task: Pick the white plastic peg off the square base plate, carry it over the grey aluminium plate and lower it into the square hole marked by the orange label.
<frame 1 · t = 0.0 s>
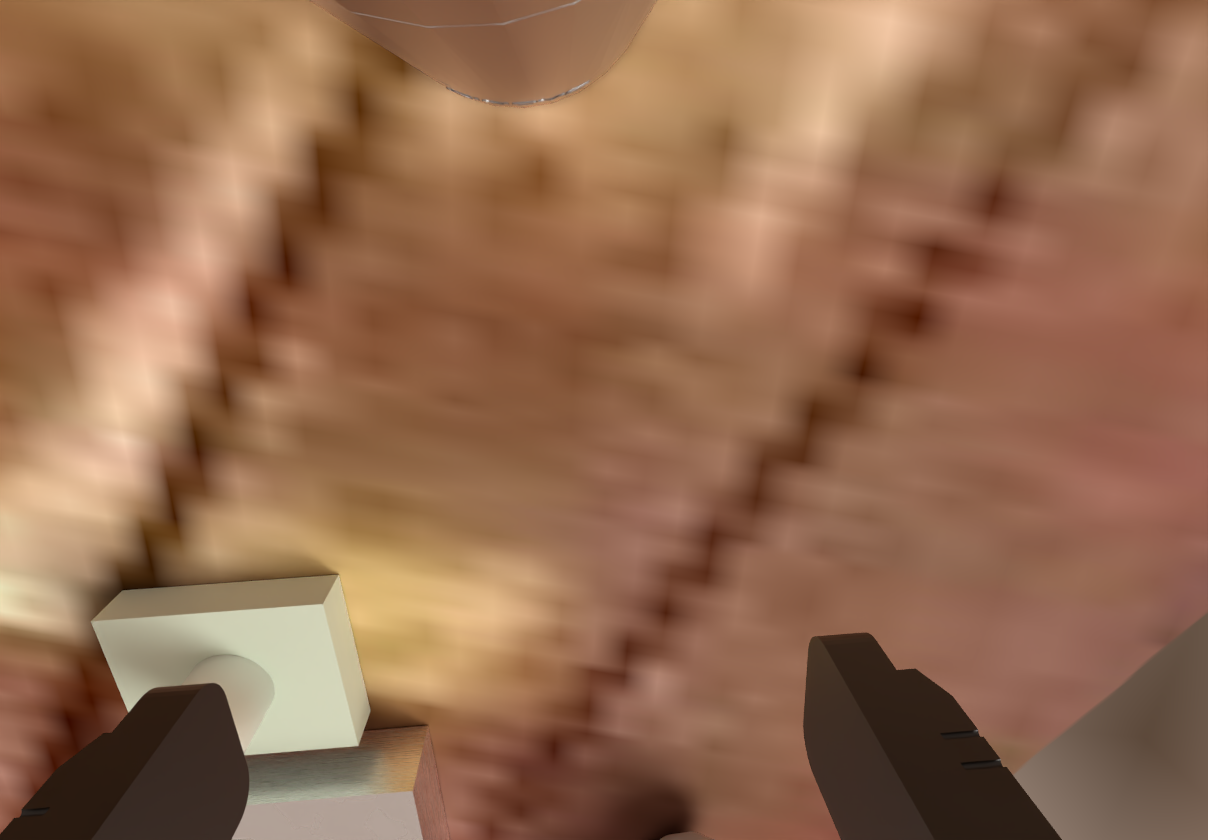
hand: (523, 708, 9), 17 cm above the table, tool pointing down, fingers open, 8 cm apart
square base plate: (253, 653, 29), on the table
flange: (310, 839, 34), on the table
peg: (232, 687, 27), point 2 cm above the table, touching square base plate
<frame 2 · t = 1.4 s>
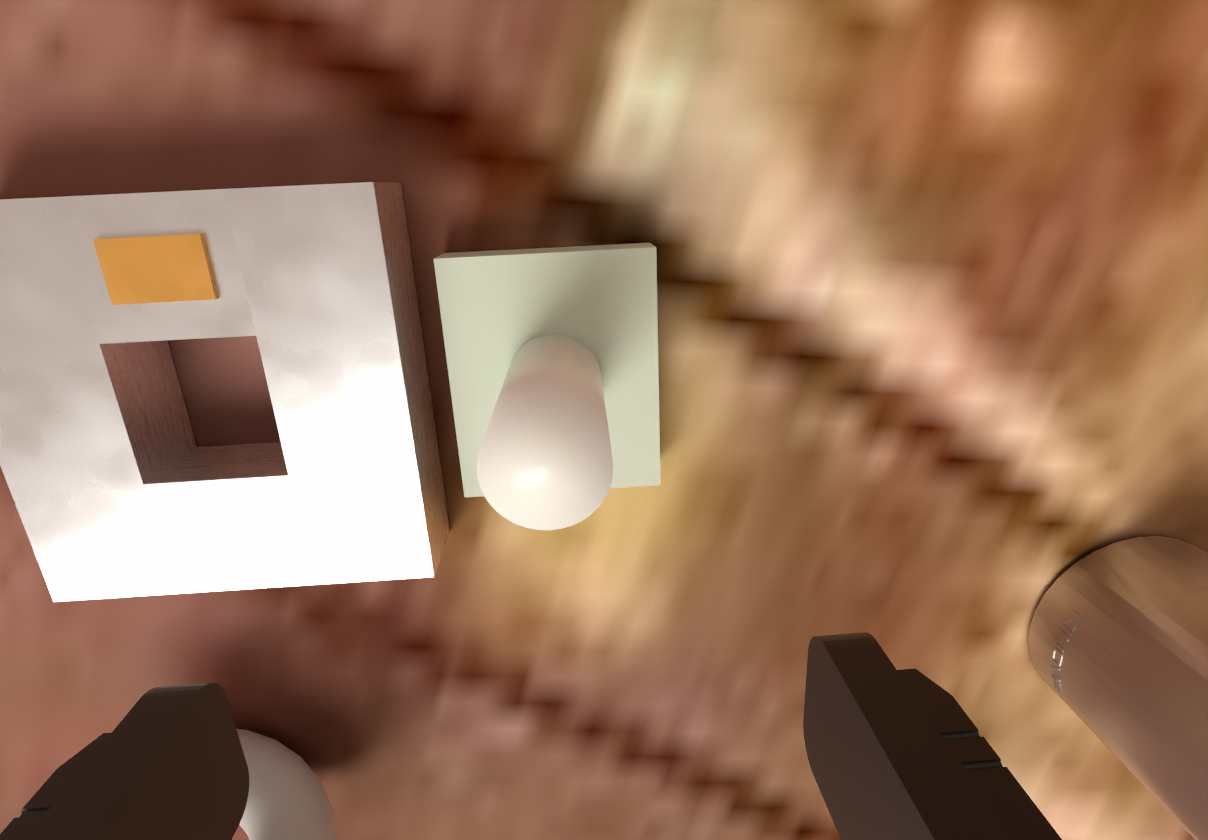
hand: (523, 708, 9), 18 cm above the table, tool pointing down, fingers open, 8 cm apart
square base plate: (555, 365, 26), on the table
flange: (246, 383, 25), on the table
donut: (270, 743, 32), on the table
peg: (554, 379, 24), point 2 cm above the table, touching square base plate
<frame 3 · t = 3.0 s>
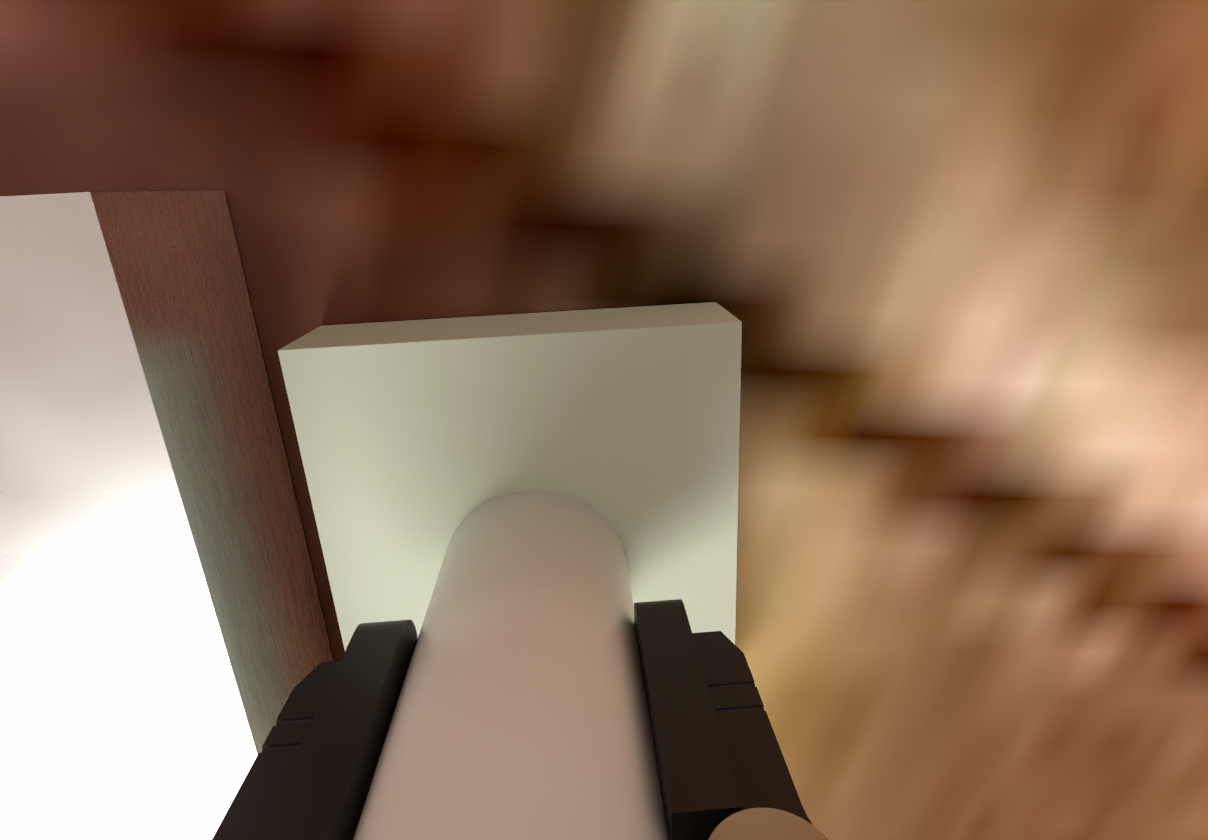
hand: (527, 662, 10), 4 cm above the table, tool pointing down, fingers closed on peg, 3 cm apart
square base plate: (539, 521, 14), on the table
peg: (535, 572, 12), point 2 cm above the table, touching gripper, square base plate
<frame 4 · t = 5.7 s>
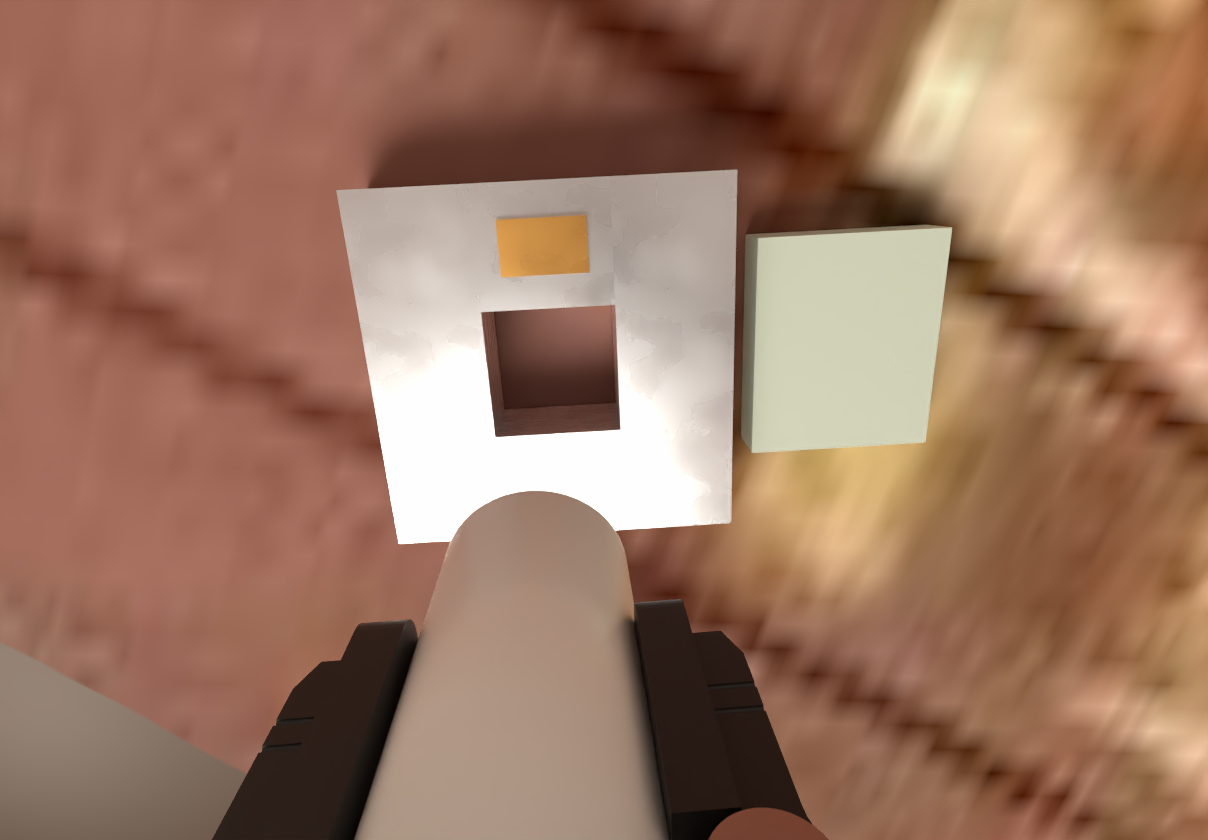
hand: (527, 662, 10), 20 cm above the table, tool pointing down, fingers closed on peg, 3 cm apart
square base plate: (828, 335, 29), on the table
flange: (555, 351, 29), on the table
peg: (536, 572, 12), point 17 cm above the table, touching gripper
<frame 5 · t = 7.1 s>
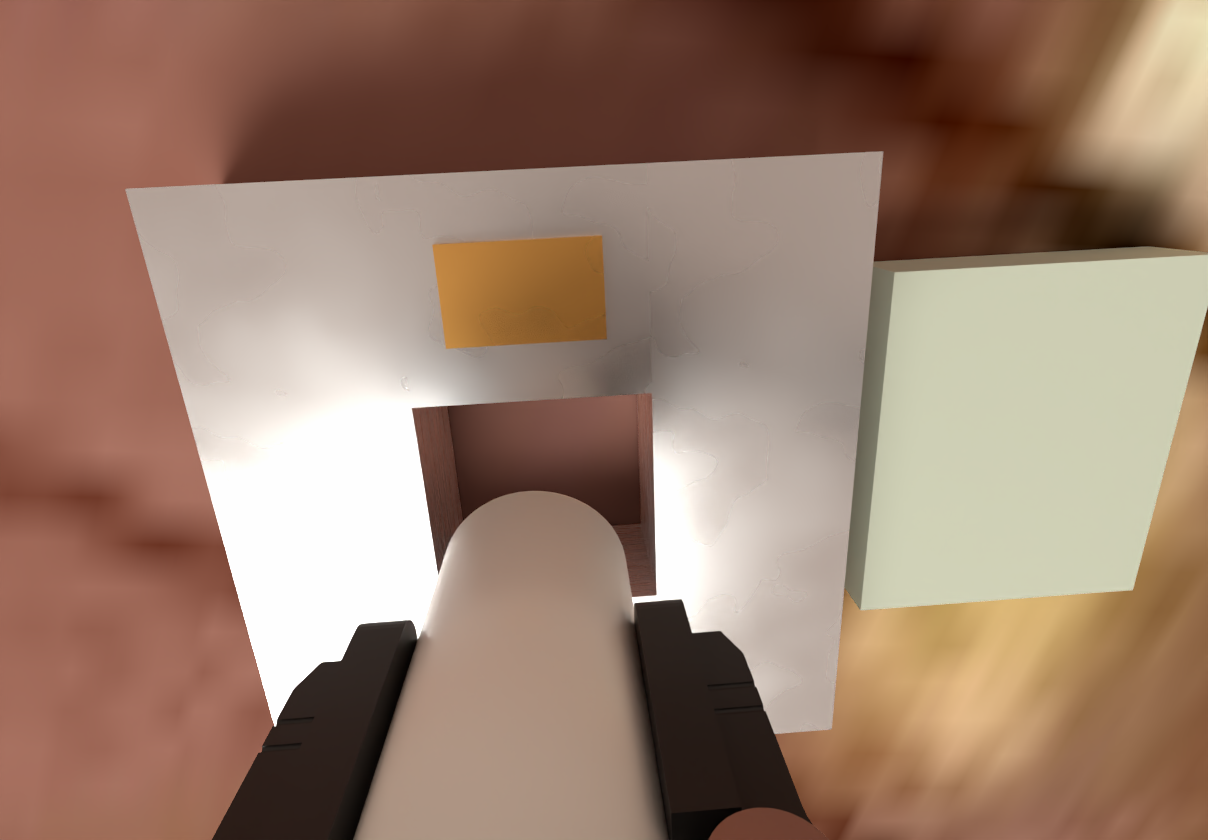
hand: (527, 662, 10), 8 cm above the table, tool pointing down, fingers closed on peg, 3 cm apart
square base plate: (978, 420, 18), on the table
flange: (546, 448, 18), on the table
peg: (535, 573, 12), point 6 cm above the table, touching gripper
when the fingers open (4 cm above the table, at t = 8.2 s): peg drops 2 cm, resting in flange.
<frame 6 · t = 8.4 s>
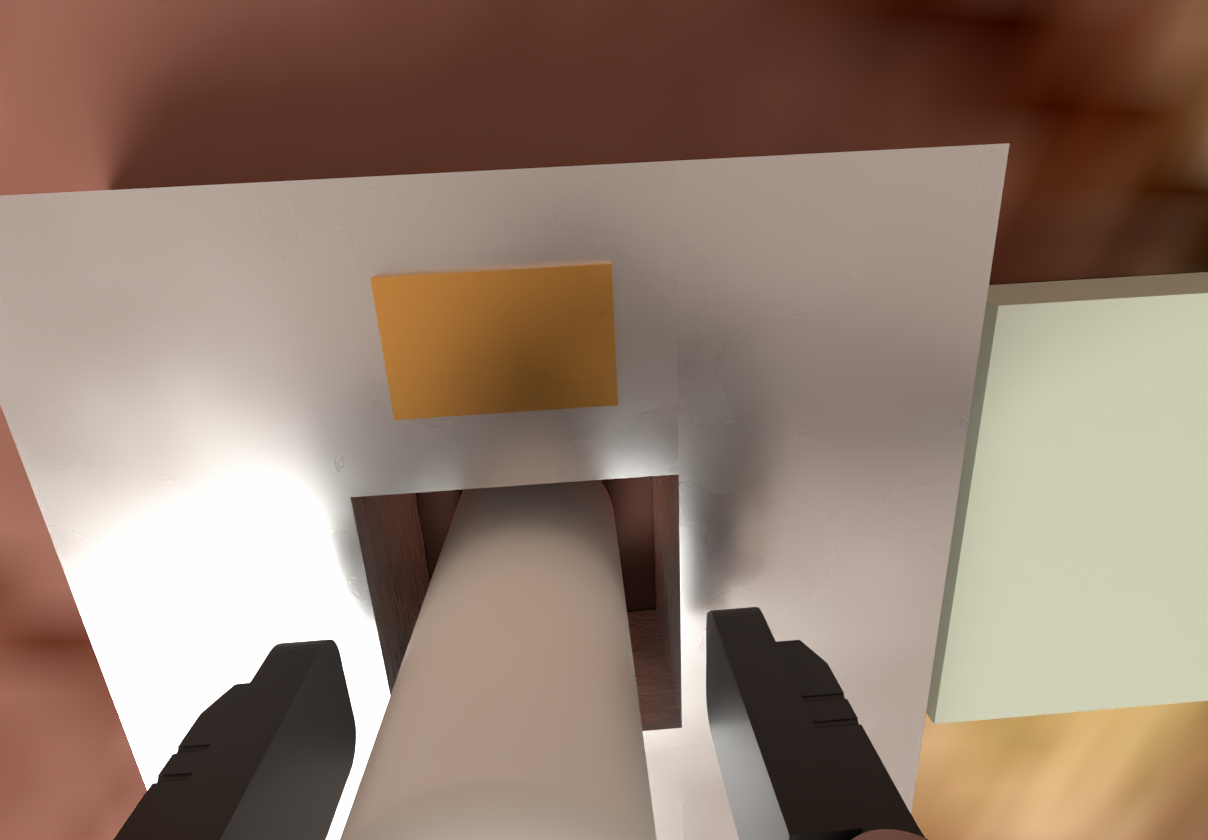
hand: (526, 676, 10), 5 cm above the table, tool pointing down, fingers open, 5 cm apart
square base plate: (1077, 482, 15), on the table
flange: (538, 521, 14), on the table
peg: (535, 522, 14), resting in flange
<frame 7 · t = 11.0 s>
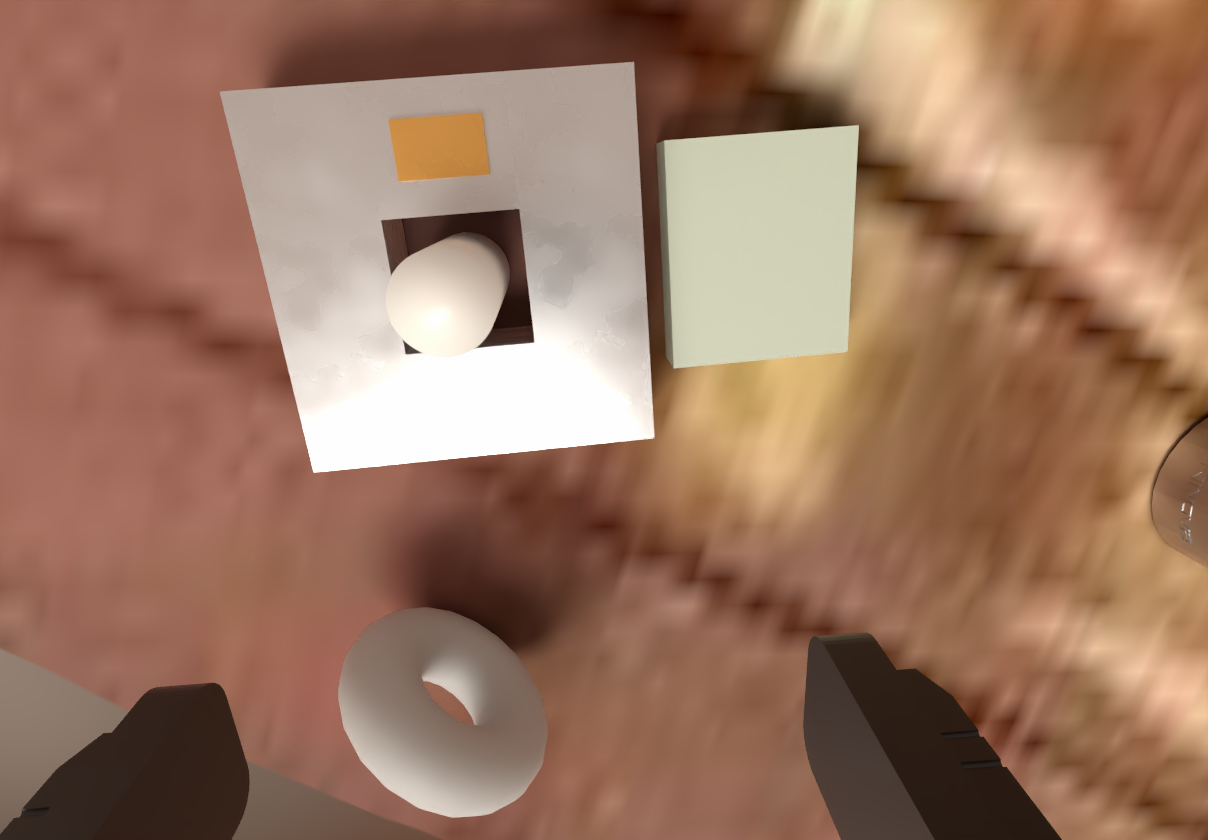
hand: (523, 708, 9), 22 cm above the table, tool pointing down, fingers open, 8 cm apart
square base plate: (747, 248, 29), on the table
flange: (471, 272, 28), on the table
donut: (463, 628, 34), on the table
peg: (470, 273, 28), resting in flange
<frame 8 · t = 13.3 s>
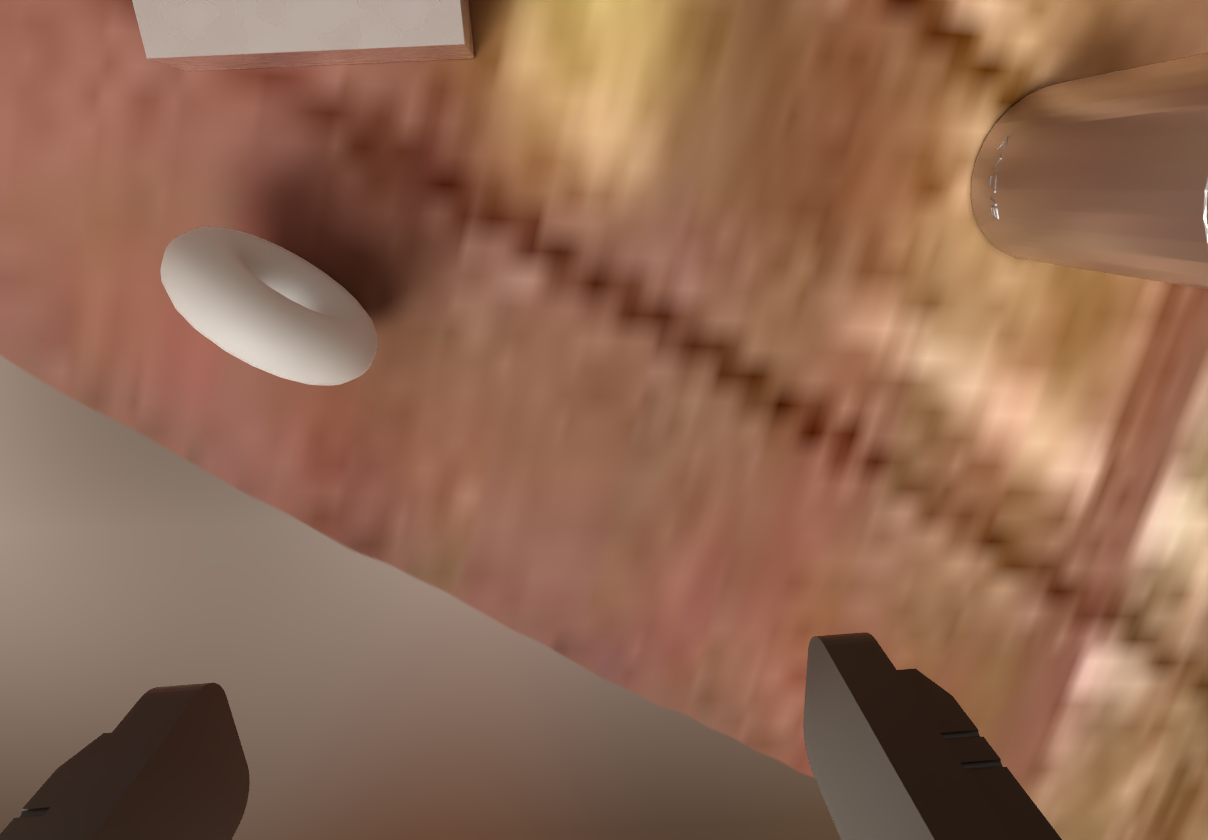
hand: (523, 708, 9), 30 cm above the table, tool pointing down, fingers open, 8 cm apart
donut: (317, 290, 36), on the table
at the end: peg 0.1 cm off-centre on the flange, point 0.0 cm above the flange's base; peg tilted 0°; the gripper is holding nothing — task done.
